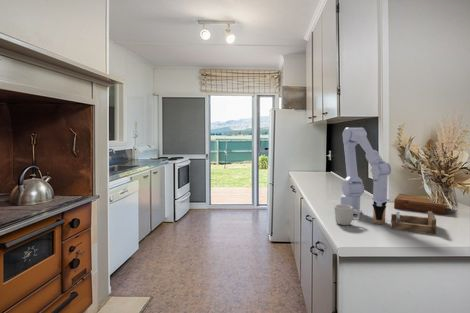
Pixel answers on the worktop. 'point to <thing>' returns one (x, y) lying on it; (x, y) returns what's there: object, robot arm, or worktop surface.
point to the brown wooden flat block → (418, 204)
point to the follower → (397, 217)
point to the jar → (379, 220)
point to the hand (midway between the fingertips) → (379, 218)
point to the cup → (345, 214)
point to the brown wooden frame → (408, 226)
